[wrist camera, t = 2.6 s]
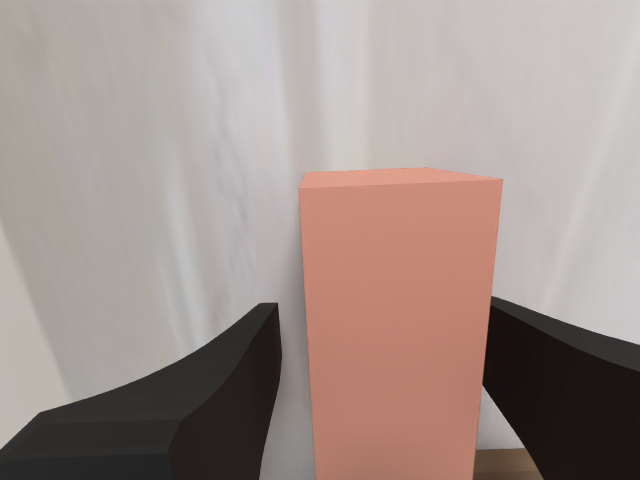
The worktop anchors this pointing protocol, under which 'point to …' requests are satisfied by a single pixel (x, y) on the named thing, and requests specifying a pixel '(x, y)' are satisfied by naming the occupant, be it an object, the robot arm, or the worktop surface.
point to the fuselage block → (397, 318)
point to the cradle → (504, 465)
